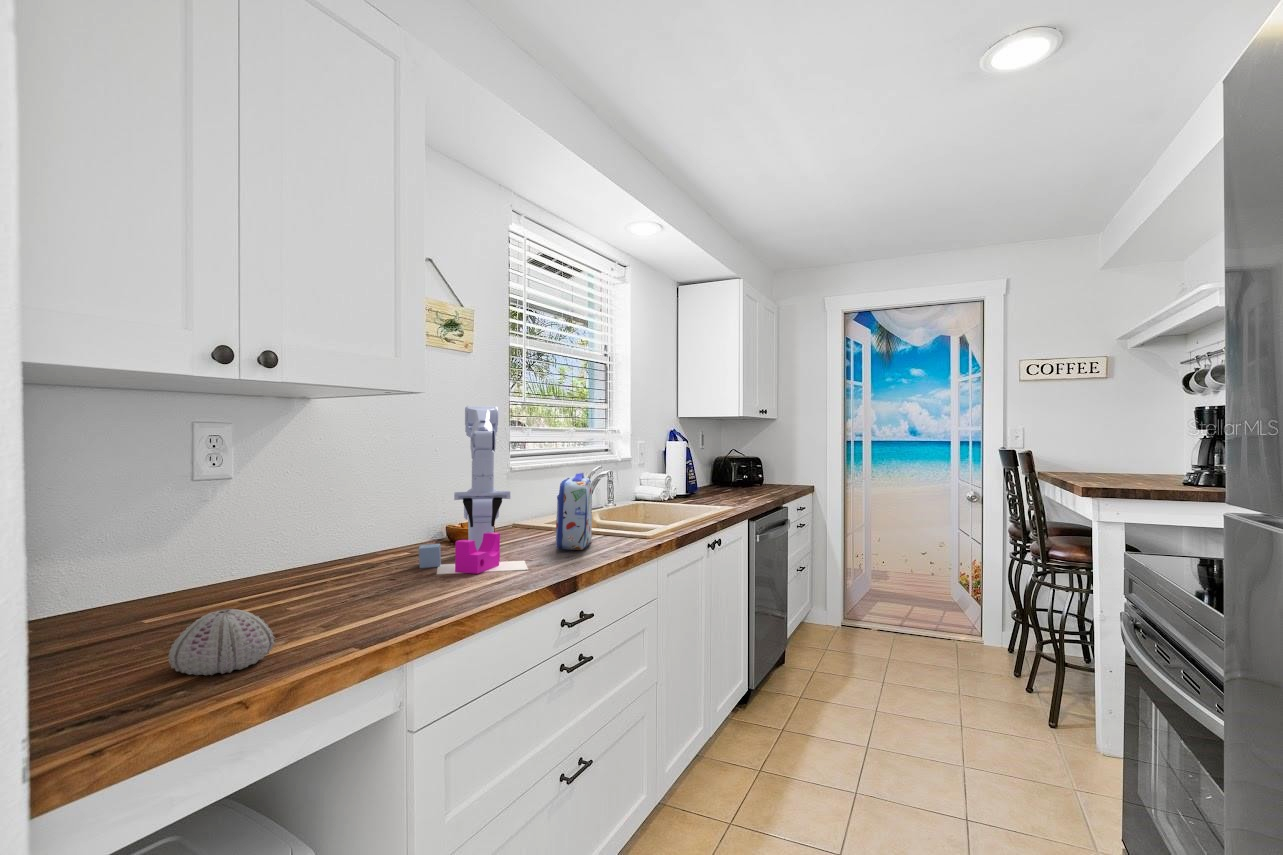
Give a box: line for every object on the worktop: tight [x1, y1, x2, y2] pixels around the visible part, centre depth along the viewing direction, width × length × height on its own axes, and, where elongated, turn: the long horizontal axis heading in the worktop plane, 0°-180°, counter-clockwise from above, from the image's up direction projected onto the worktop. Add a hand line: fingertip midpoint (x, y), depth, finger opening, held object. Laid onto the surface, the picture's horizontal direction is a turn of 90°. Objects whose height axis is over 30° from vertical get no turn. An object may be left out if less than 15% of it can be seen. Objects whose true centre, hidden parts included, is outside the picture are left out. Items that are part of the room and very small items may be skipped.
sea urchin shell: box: [167, 608, 276, 676], centre depth 96 cm, size 13×14×8 cm
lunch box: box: [555, 472, 593, 551], centre depth 195 cm, size 28×10×22 cm, turn 3°
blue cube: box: [418, 543, 442, 569], centre depth 165 cm, size 5×5×5 cm
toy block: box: [454, 532, 501, 575], centre depth 163 cm, size 15×6×8 cm, turn 163°
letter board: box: [436, 560, 529, 575], centre depth 163 cm, size 11×22×1 cm, turn 105°
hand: (482, 526), depth 171 cm, fingers open, 5 cm apart
